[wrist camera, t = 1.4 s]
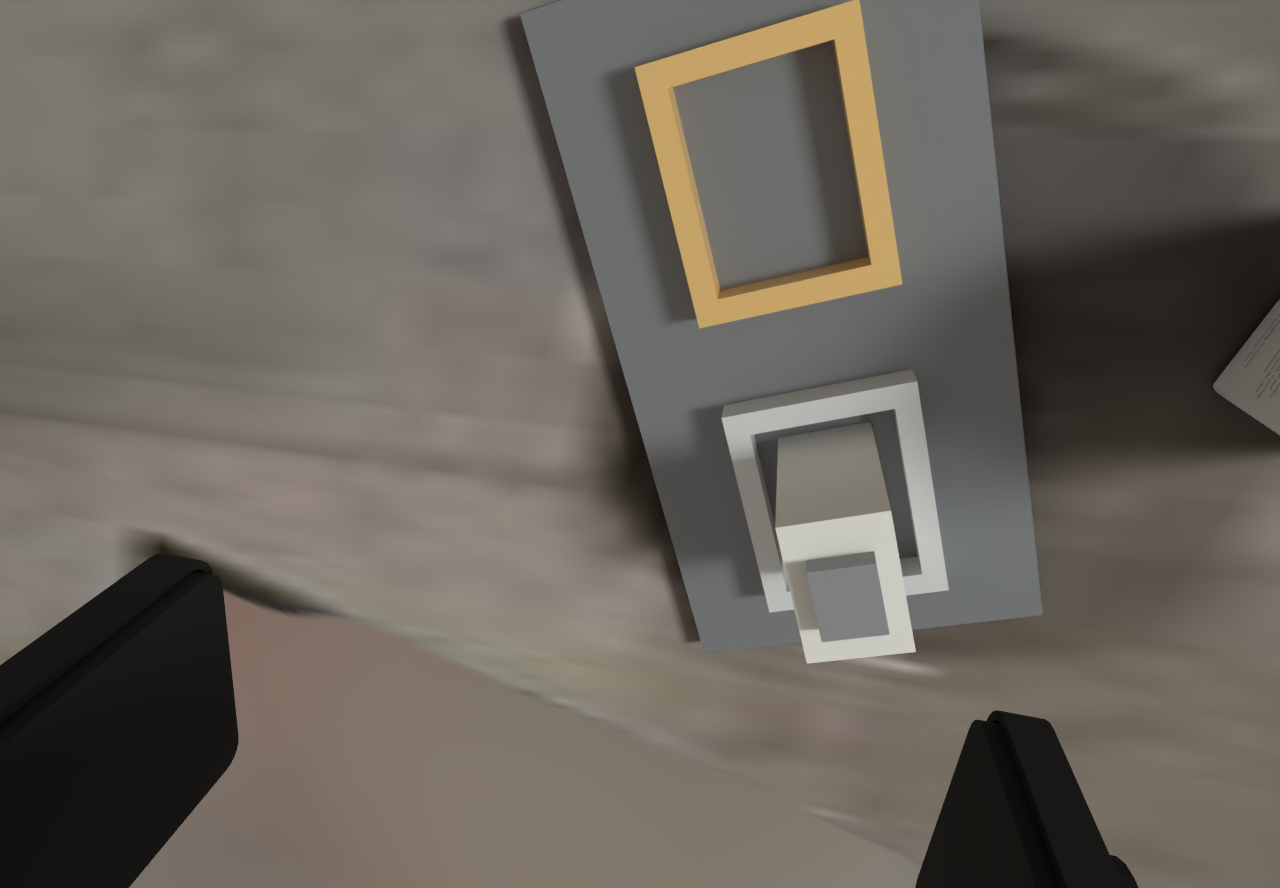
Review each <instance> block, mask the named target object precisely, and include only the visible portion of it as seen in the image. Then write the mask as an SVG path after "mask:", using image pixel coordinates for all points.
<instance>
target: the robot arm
mask: <svg viewBox="0 0 1280 888" xmlns="http://www.w3.org/2000/svg"><path fill="white" fill-rule="evenodd" d="M237 746H238V728H237V718H236V709H235V699H234V690H233V680H232V671H231V661H230V652H229V642H228V634H227V624H226V614H225V604H224V595H223V586H222V582H221V580H220V578H219V577H218V576H216V575H213V572H212V569H211V567H210V566H209V564H208V563H206V562H204V561H201V560H195V559H190V558H185V557H179V556H174V555H169V554H156V555H154V556H152V557H150V558H149V559H147V560H146V561H144V562H143V563H142V564H140V565H139V566H137V567H136V568H135V569H133V570H132V571H131V572H129V573H128V574H126V575H125V576H124V577H122V578H121V579H119V580H118V581H117V582H115V583H114V584H113V585H111V586H110V587H108V588H107V589H106V590H104V591H103V592H101V593H100V594H99V595H97V596H96V597H94V598H93V599H92V600H90V601H89V602H88V603H86V604H85V605H83V606H82V607H81V608H79V609H78V610H76V611H75V612H74V613H72V614H71V615H70V616H68V617H67V618H65V619H64V620H63V621H61V622H60V623H58V624H57V625H56V626H54V627H53V628H51V629H50V630H49V631H47V632H46V633H45V634H43V635H42V636H40V637H39V638H38V639H36V640H35V641H33V642H32V643H31V644H29V645H28V646H27V647H25V648H24V649H22V650H21V651H20V652H18V653H17V654H15V655H14V656H13V657H11V658H10V659H8V660H7V661H6V662H4V663H3V664H2V665H0V888H129V887H130V886H131V884H132V883H133V882H134V881H135V880H136V878H137V877H138V876H139V875H140V873H141V872H142V871H143V870H144V869H145V867H146V866H147V865H148V864H149V863H150V861H151V860H152V859H153V858H154V857H155V855H156V854H157V853H158V852H159V851H160V849H161V848H162V847H163V846H164V845H165V843H166V842H167V841H168V840H169V838H170V837H171V836H172V835H173V834H174V832H175V831H176V830H177V829H178V827H179V826H180V825H181V824H182V823H183V822H184V820H185V819H186V818H187V817H188V816H189V814H190V813H191V812H192V811H193V809H194V808H195V807H196V806H197V805H198V804H199V802H200V801H201V800H202V799H203V797H204V796H205V795H206V794H207V793H208V791H209V790H210V789H211V788H212V787H213V785H214V784H215V783H216V782H217V780H218V779H219V778H220V777H221V776H222V774H223V773H224V772H225V771H226V770H227V768H228V767H229V765H230V764H231V762H232V760H233V758H234V756H235V753H236V750H237ZM916 888H1138V886H1137V883H1136V881H1135V879H1134V877H1133V876H1132V874H1131V872H1130V871H1129V869H1128V867H1127V866H1126V864H1125V863H1124V862H1122V861H1121V860H1120V859H1119V858H1118V857H1117V856H1112V855H1109V853H1108V850H1107V848H1106V846H1105V844H1104V841H1103V839H1102V837H1101V835H1100V832H1099V830H1098V828H1097V826H1096V823H1095V821H1094V819H1093V817H1092V814H1091V812H1090V810H1089V808H1088V805H1087V803H1086V801H1085V799H1084V796H1083V794H1082V792H1081V790H1080V787H1079V785H1078V783H1077V781H1076V778H1075V776H1074V774H1073V771H1072V769H1071V767H1070V765H1069V762H1068V760H1067V758H1066V756H1065V753H1064V751H1063V749H1062V747H1061V744H1060V742H1059V740H1058V738H1057V735H1056V733H1055V731H1054V729H1053V727H1052V726H1051V724H1050V722H1048V721H1047V720H1045V719H1040V718H1035V717H1030V716H1024V715H1019V714H1014V713H1008V712H1003V711H998V710H997V711H993V712H992V713H991V714H990V715H989V717H988V719H987V721H982V720H974V722H973V723H972V724H971V726H970V729H969V731H968V734H967V737H966V740H965V743H964V746H963V749H962V751H961V754H960V757H959V760H958V763H957V766H956V769H955V772H954V775H953V777H952V780H951V783H950V786H949V789H948V792H947V795H946V798H945V801H944V803H943V806H942V809H941V812H940V815H939V818H938V821H937V824H936V827H935V829H934V832H933V835H932V838H931V841H930V844H929V847H928V850H927V853H926V856H925V858H924V861H923V864H922V867H921V870H920V873H919V876H918V879H917V883H916Z"/></svg>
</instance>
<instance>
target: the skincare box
mask: <svg viewBox="0 0 1280 888" xmlns="http://www.w3.org/2000/svg"><path fill="white" fill-rule="evenodd" d="M1213 388H1214V390H1215V391H1216V392H1217V393H1218V394H1220V395H1221V396H1223V397H1224V398H1225V399H1227V400H1228V401H1230V402H1231V403H1233V404H1234V405H1236V406H1237V407H1238V408H1240V409H1241V410H1243V411H1244V412H1246V413H1247V414H1249V415H1250V416H1252V417H1253V418H1255V419H1256V420H1258V421H1259V422H1261V423H1262V424H1264V425H1265V426H1267V427H1268V428H1270V429H1271V430H1273V431H1274V432H1276V433H1277V434H1278V435H1280V299H1279V300H1278V302H1277V303H1276V304H1275V305H1274V307H1273V308H1272V309H1271V311H1270V312H1269V313H1268V314H1267V316H1266V317H1265V318H1264V319H1263V321H1262V322H1261V323H1260V325H1259V326H1258V327H1257V328H1256V330H1255V331H1254V332H1253V334H1252V335H1251V336H1250V337H1249V339H1248V340H1247V341H1246V343H1245V344H1244V345H1243V346H1242V348H1241V349H1240V350H1239V352H1238V353H1237V354H1236V355H1235V357H1234V358H1233V359H1232V360H1231V362H1230V363H1229V364H1228V366H1227V367H1226V368H1225V369H1224V371H1223V372H1222V373H1221V375H1220V376H1219V377H1218V379H1217V380H1216V381H1215V383H1214V384H1213Z"/></svg>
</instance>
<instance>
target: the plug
mask: <svg viewBox="0 0 1280 888" xmlns="http://www.w3.org/2000/svg"><path fill="white" fill-rule="evenodd" d="M775 529H776V534H777V538H778V542H779V546H780V551H781V555H782V559H783V563H784V568H785V572H786V576H787V580H788V585H789V589H790V593H791V598H792V602H793V606H794V610H795V615H796V619H797V623H798V627H799V632H800V636H801V640H802V644H803V649H804V653H805V657H806V662H807V664H808V663H817V662H826V661H835V660H845V659H854V658H863V657H873V656H882V655H891V654H901V653H910V652H916V650H915V645H914V639H913V633H912V627H911V622H910V616H909V610H908V604H907V599H906V593H905V587H904V581H903V576H902V570H901V564H900V558H899V553H898V547H897V541H896V536H895V530H894V524H893V518H892V513H891V508H890V503H889V499H888V495H887V490H886V486H885V482H884V477H883V473H882V469H881V464H880V460H879V455H878V451H877V447H876V442H875V438H874V434H873V429H872V425H871V422H865V423H860V424H854V425H849V426H843V427H837V428H832V429H826V430H820V431H815V432H809V433H804V434H798V435H792V436H787V437H781V438H778V461H777V490H776V520H775Z"/></svg>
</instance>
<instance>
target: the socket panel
mask: <svg viewBox="0 0 1280 888" xmlns="http://www.w3.org/2000/svg"><path fill="white" fill-rule="evenodd" d="M520 16H521V20H522V23H523V26H524V30H525V33H526V37H527V40H528V44H529V47H530V51H531V54H532V58H533V61H534V65H535V68H536V72H537V75H538V78H539V82H540V85H541V89H542V92H543V96H544V99H545V103H546V106H547V110H548V113H549V117H550V120H551V124H552V127H553V130H554V134H555V137H556V141H557V144H558V148H559V151H560V155H561V158H562V162H563V165H564V169H565V172H566V176H567V179H568V182H569V186H570V189H571V193H572V196H573V200H574V203H575V207H576V210H577V214H578V217H579V221H580V224H581V228H582V231H583V234H584V238H585V241H586V245H587V248H588V252H589V255H590V259H591V262H592V266H593V269H594V273H595V276H596V280H597V283H598V287H599V290H600V293H601V297H602V300H603V304H604V307H605V311H606V314H607V318H608V321H609V325H610V328H611V332H612V335H613V339H614V342H615V345H616V349H617V352H618V356H619V359H620V363H621V366H622V370H623V373H624V377H625V380H626V384H627V387H628V391H629V394H630V397H631V401H632V404H633V408H634V411H635V415H636V418H637V422H638V425H639V429H640V432H641V436H642V439H643V443H644V446H645V449H646V453H647V456H648V460H649V463H650V467H651V470H652V474H653V477H654V481H655V484H656V488H657V491H658V495H659V498H660V502H661V505H662V508H663V512H664V515H665V519H666V522H667V526H668V529H669V533H670V536H671V540H672V543H673V547H674V550H675V554H676V557H677V560H678V564H679V567H680V571H681V574H682V578H683V581H684V585H685V588H686V592H687V595H688V599H689V602H690V606H691V609H692V612H693V616H694V619H695V623H696V626H697V630H698V633H699V637H700V640H701V644H702V647H703V651H704V653H713V652H722V651H730V650H739V649H748V648H757V647H765V646H774V645H783V644H792V643H800V642H802V640H801V636H800V632H799V627H798V623H797V619H796V615H795V610H794V606H793V602H792V598H791V593H790V589H789V585H788V580H787V576H786V572H785V568H784V563H783V559H782V555H781V551H780V546H779V542H778V538H777V534H776V529H775V520H776V490H777V461H778V438H781V437H787V436H792V435H798V434H804V433H809V432H815V431H820V430H826V429H832V428H837V427H843V426H849V425H854V424H860V423H865V422H871V425H872V429H873V434H874V438H875V442H876V447H877V451H878V455H879V460H880V464H881V469H882V473H883V477H884V482H885V486H886V490H887V495H888V499H889V503H890V508H891V513H892V518H893V524H894V530H895V536H896V541H897V547H898V553H899V558H900V564H901V570H902V576H903V581H904V587H905V593H906V599H907V604H908V610H909V616H910V622H911V627H912V630H914V629H923V628H932V627H941V626H950V625H958V624H967V623H976V622H985V621H993V620H1002V619H1011V618H1020V617H1029V616H1037V615H1043V614H1042V604H1041V594H1040V585H1039V575H1038V566H1037V556H1036V546H1035V537H1034V527H1033V517H1032V508H1031V498H1030V489H1029V479H1028V469H1027V460H1026V450H1025V440H1024V431H1023V421H1022V412H1021V402H1020V392H1019V383H1018V373H1017V363H1016V354H1015V344H1014V335H1013V325H1012V315H1011V306H1010V296H1009V286H1008V277H1007V267H1006V257H1005V248H1004V238H1003V229H1002V219H1001V209H1000V200H999V190H998V180H997V171H996V161H995V152H994V142H993V132H992V123H991V113H990V103H989V94H988V84H987V75H986V65H985V55H984V46H983V36H982V26H981V17H980V7H979V0H561V1H558V2H555V3H552V4H549V5H546V6H543V7H540V8H537V9H534V10H531V11H528V12H525V13H522V14H520Z"/></svg>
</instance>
